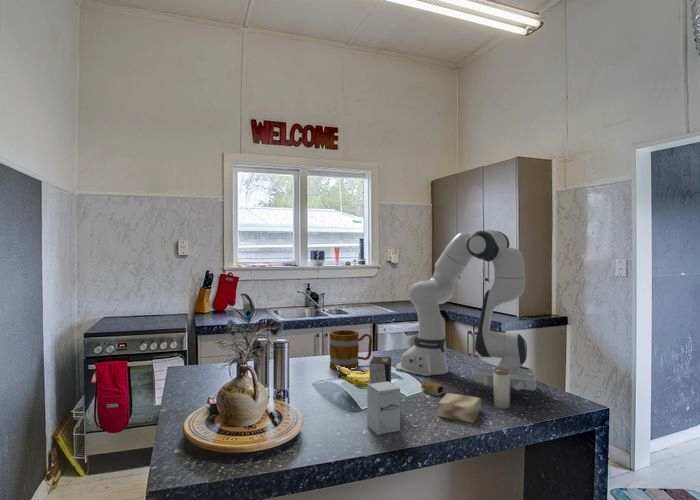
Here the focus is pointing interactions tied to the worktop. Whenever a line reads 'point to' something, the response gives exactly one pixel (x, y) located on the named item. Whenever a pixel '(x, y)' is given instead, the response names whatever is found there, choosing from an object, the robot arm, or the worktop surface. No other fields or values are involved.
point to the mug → (346, 348)
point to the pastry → (433, 388)
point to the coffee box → (380, 370)
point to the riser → (459, 407)
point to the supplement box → (383, 407)
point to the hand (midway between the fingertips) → (501, 385)
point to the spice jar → (501, 388)
